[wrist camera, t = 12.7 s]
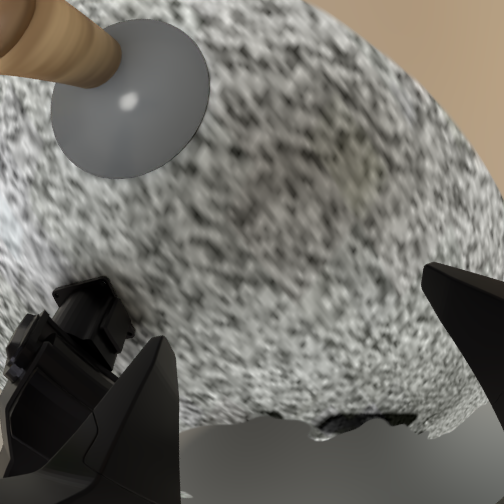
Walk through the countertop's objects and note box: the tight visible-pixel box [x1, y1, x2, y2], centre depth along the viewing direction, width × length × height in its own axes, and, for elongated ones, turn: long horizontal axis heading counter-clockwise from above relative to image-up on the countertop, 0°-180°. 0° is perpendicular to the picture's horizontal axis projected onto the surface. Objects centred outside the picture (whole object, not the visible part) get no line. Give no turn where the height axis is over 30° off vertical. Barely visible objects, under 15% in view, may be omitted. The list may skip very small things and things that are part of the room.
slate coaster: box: [51, 19, 209, 179], centre depth 15 cm, size 12×12×1 cm
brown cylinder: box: [0, 0, 122, 89], centre depth 8 cm, size 4×4×12 cm
